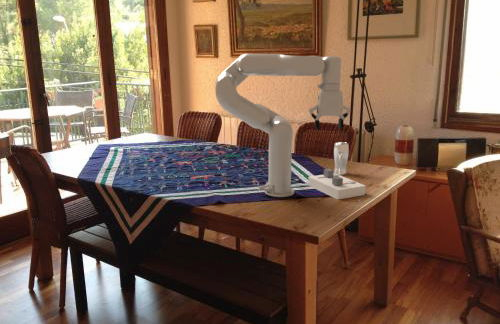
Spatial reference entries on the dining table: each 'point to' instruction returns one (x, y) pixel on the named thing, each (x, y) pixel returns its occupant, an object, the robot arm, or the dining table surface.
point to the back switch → (328, 173)
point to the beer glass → (340, 157)
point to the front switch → (337, 181)
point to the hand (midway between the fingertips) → (328, 129)
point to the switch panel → (337, 192)
